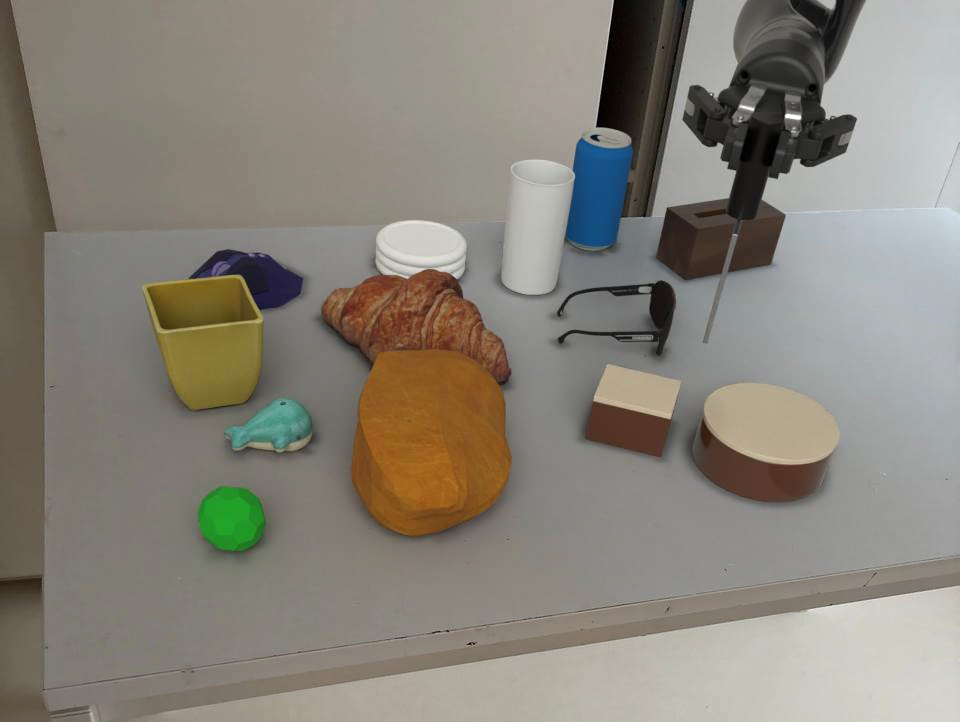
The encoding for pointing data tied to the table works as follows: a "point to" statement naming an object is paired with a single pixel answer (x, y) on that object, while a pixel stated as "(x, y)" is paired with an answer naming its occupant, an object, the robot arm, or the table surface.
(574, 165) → the beverage can
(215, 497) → the polyhedron
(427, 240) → the coaster
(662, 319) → the sunglasses
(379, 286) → the pastry
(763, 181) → the knife
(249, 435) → the whale figurine
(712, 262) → the knife block
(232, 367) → the flower pot
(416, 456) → the bread
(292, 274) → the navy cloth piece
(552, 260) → the mug
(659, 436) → the cake slice
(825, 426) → the cake
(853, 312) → the table surface
